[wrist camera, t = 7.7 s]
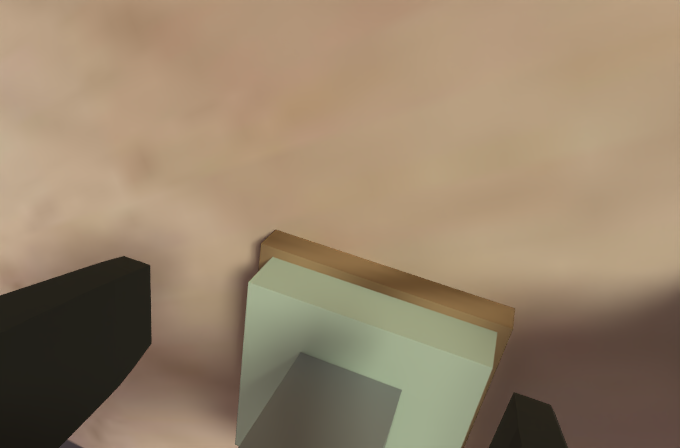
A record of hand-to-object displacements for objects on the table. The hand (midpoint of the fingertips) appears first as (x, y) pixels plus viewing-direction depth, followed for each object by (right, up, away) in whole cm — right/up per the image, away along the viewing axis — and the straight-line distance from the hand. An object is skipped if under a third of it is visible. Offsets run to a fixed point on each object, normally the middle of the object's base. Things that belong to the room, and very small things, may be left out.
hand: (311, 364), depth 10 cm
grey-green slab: (+1, -4, +12) cm, 13 cm away
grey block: (+1, -5, +10) cm, 11 cm away
